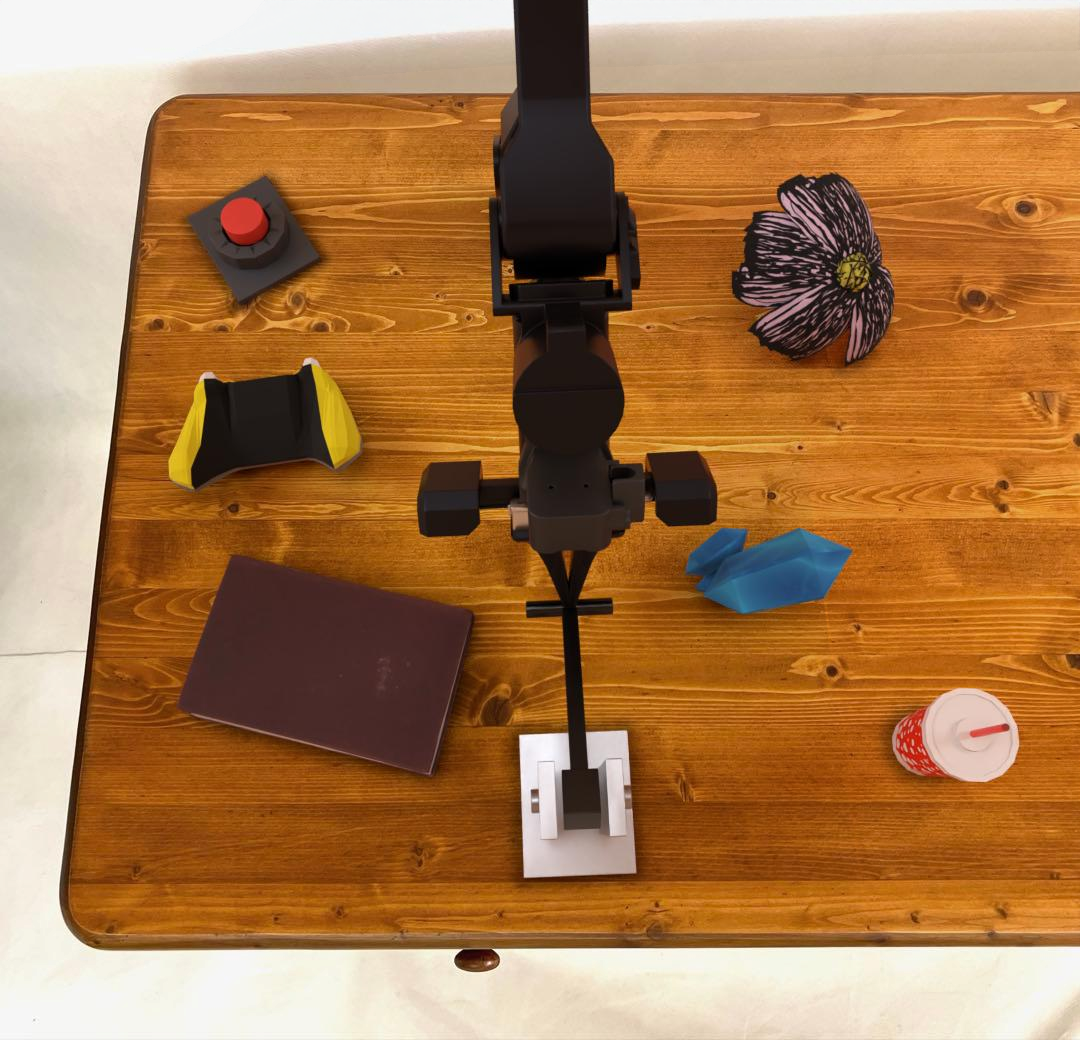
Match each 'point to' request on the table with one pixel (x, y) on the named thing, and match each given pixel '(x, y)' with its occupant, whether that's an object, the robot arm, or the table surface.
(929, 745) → the beverage cup
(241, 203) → the button
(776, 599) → the crystal
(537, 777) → the bracket
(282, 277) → the control block
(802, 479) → the table surface
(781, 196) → the decorative flower
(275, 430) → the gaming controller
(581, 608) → the lever
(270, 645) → the book
